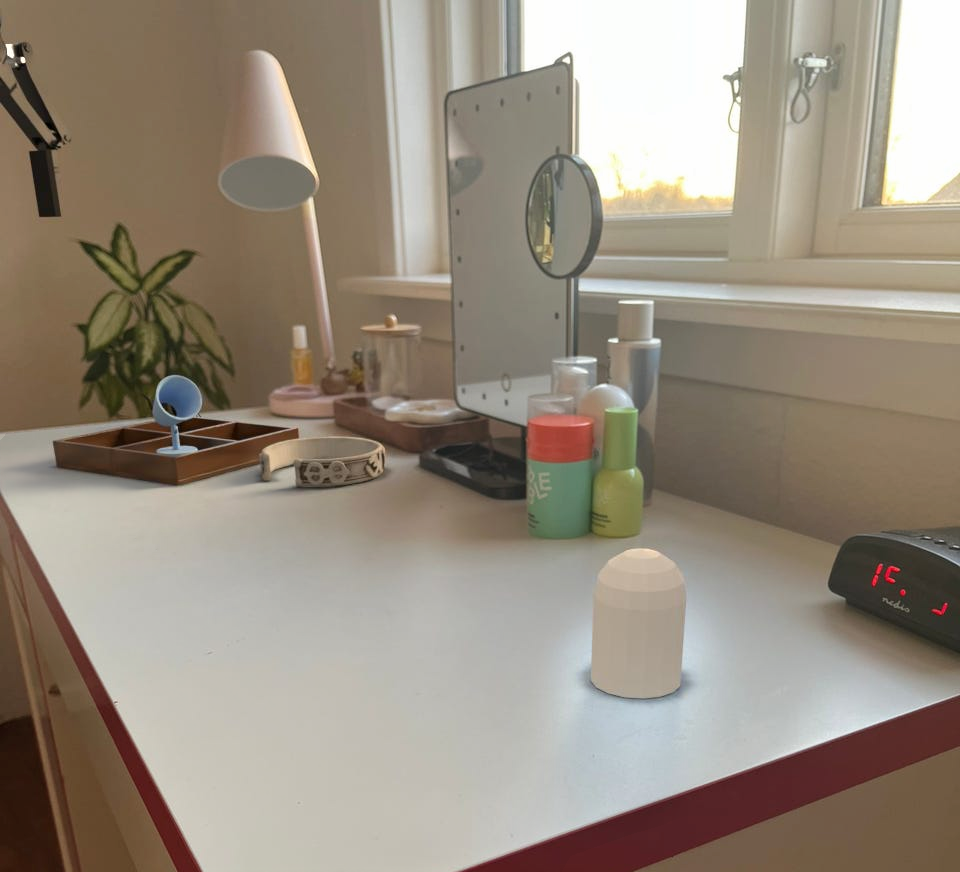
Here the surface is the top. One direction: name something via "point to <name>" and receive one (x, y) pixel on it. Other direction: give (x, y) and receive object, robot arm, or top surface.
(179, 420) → the spotlight
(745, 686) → the top surface
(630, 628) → the cream domed cylinder
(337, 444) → the bracelet
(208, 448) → the tray
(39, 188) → the robot arm
